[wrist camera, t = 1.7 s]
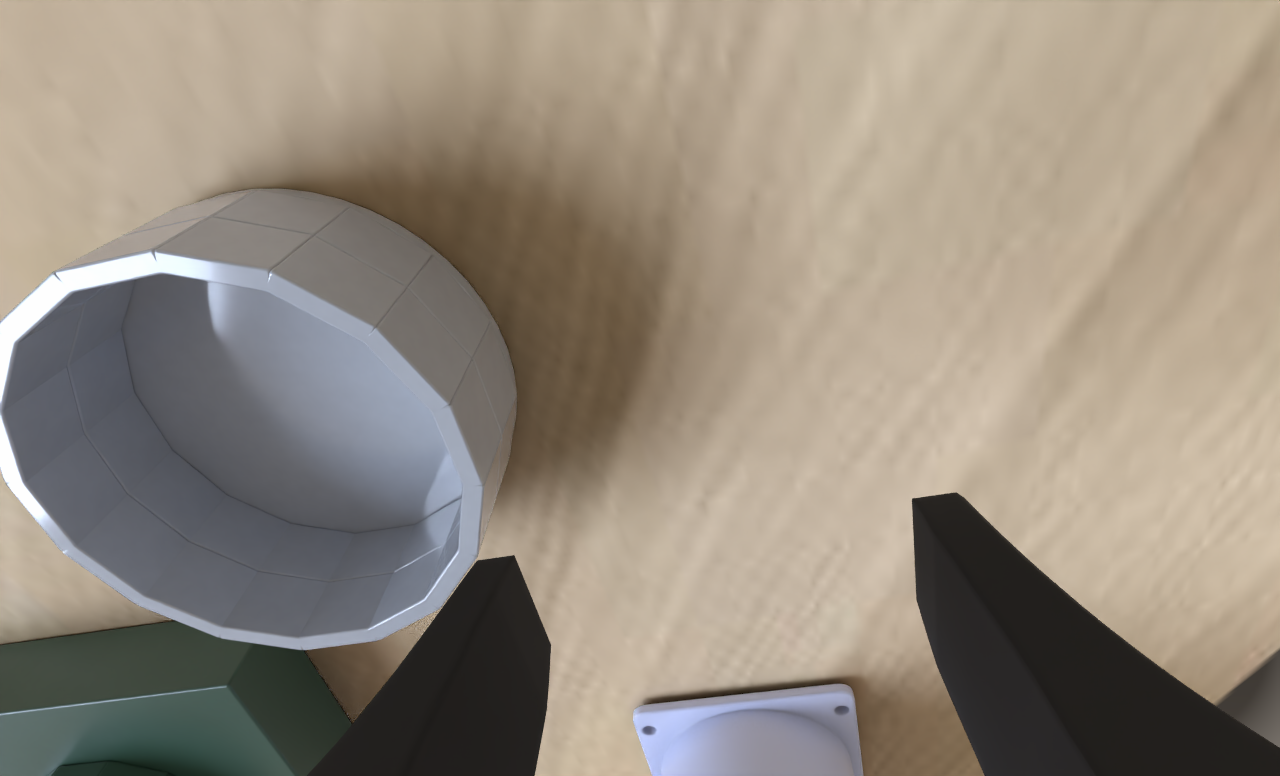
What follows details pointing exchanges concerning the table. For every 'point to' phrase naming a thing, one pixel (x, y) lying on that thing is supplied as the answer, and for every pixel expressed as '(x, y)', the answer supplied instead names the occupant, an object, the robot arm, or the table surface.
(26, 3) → the table surface
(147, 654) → the control box
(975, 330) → the table surface
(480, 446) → the pot
